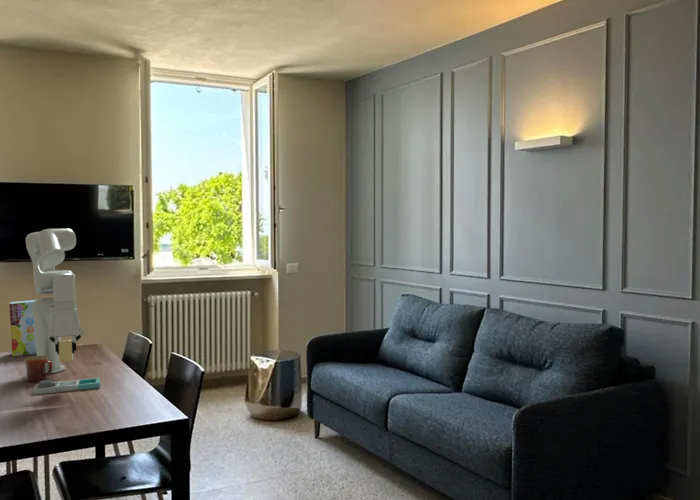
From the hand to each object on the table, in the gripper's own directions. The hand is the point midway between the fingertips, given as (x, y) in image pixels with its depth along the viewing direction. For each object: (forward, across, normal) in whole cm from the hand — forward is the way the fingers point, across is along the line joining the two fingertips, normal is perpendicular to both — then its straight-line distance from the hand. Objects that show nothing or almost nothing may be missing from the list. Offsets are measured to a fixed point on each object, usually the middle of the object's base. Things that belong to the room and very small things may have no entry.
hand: (66, 352), depth 249 cm
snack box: (+17, -19, +83) cm, 86 cm away
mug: (+16, -11, +17) cm, 25 cm away
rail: (+15, 0, -1) cm, 15 cm away
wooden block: (+3, 0, 0) cm, 3 cm away
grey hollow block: (+14, -7, -1) cm, 16 cm away
